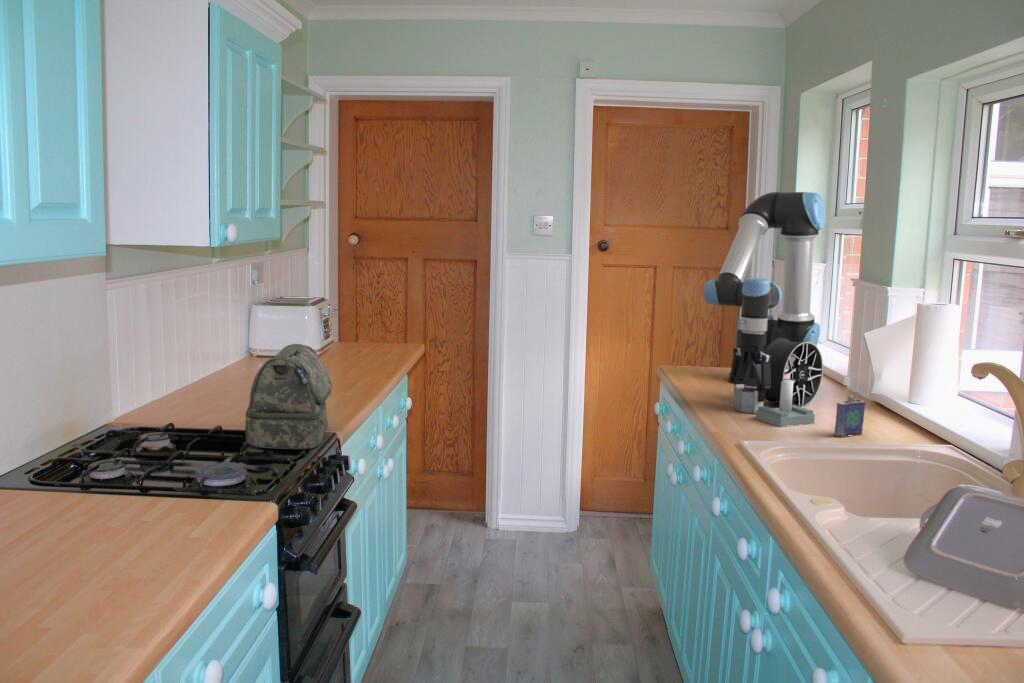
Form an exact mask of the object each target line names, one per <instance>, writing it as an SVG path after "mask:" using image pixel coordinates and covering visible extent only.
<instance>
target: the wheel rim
mask: <svg viewBox="0 0 1024 683" xmlns="http://www.w3.org/2000/svg"><path fill="white" fill-rule="evenodd" d="M793 351H795V353H796V356H795V355H794V354H792V353H793ZM764 354H766V355H771V361H770V371H771V389H768V390H766V391H765V400H766V401H767V402H770V403H780V393H781V381H790V382H793V396H792V405H795V406H799V407H803V408H805V407H807V406H809V405H810V404H811V402H813V400H814V399H815V398H816V396H817V394H818V392H819V390H820V387H821V385H822V381H823V375H824V360H823V356H822V353H821V351H820V349H819V347H818V345H817V346H816V345H815V344H813V343H811V342H807V341H801V342H798V343H797V342H790V341H789V340H787V339H784V338H778V339H775V340H773V341H772V342H771V343H770V344H769V345H768V346H767V347H766V348H765V350H764ZM791 355H792V356H791ZM790 357H793V358H795V359H794V361H793V362H792V364H793V365H792V364H791V359H790ZM787 364H788V367H789V369H788V370H787V371H786V368H787ZM789 375H790V376H789ZM786 376H789V379H788V378H785V377H786ZM761 386H762V385H761Z"/></svg>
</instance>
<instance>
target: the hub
mask: <svg viewBox="0 0 1024 683" xmlns="http://www.w3.org/2000/svg"><path fill="white" fill-rule="evenodd" d="M755 389H757V387H753V386H752V387H751V386H749V387H748V386H744V387H738V388H735V394H734V393H733V395H734V397H733V411H736V412H740V413H747V414H755V413H754V401H755Z"/></svg>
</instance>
